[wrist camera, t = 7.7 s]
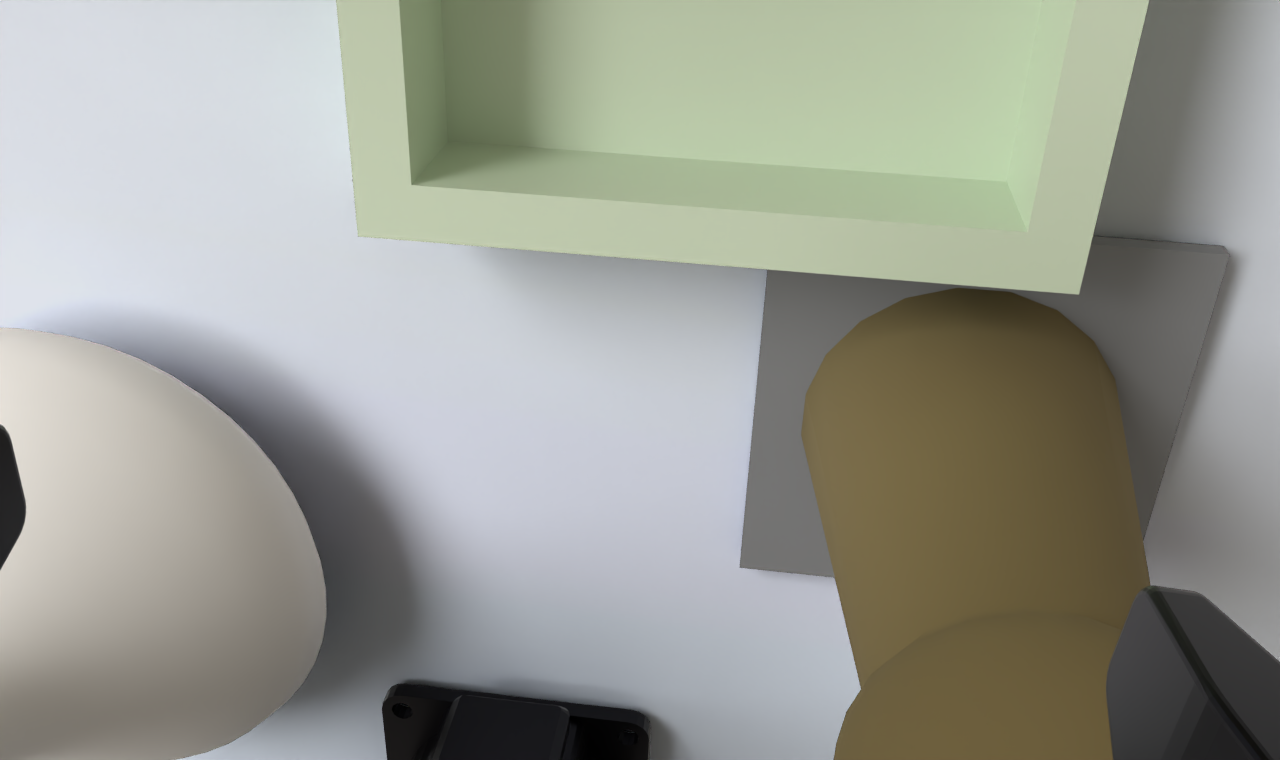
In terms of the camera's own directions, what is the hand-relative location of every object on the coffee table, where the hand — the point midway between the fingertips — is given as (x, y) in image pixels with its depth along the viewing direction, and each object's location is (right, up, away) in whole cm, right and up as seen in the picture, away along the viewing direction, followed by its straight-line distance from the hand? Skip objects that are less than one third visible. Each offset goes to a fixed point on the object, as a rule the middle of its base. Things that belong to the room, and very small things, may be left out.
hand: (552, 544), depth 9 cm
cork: (+7, 0, +14) cm, 16 cm away
